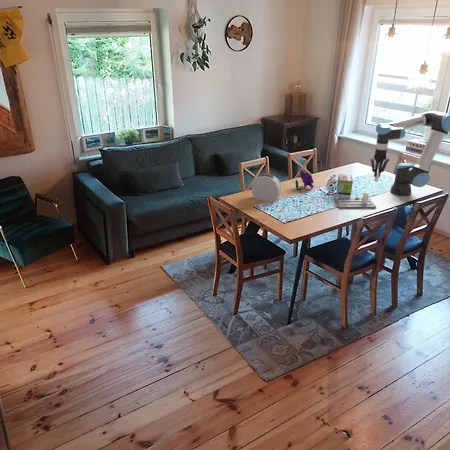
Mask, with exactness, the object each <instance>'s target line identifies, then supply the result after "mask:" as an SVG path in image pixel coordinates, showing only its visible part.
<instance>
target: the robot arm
mask: <svg viewBox="0 0 450 450" xmlns="http://www.w3.org/2000/svg"><path fill="white" fill-rule="evenodd" d="M417 127H418V128H419V127H420V128H424V127H429V128H430V132H431V133H430V135H429V137H428V140H427V142H426V144H425V146H424V147H423V150H422V152H421V155H420V156H419V158H418V160H417V162H416V164H414V163H409V162H404V163H403V162H402V163H400V162H399V163H398V164H397V166H396V170H395V175H394V176H395V177H394V181H393V184H392V185H391V187H390V190H389V191H390V193H391V194H392V195H393V194H394V195H396V196H403V197H405V196H410V195H411V194H412V187H416V188H423V187H425V186H426V185H427V184H428V183H429V181H430V178H431V175H430V174H429V173H430V166H431V164H432V162H433V161H434V160H433V159H434V158H435V156H436V153H437V151H438V150H439V147H440V145H441V143H442V142H443V139H444V137H445V136H448V134H449V133H450V113H448V112H447V113H446V112H443V111H440V110H439V111H438V110H430V111H429V110H428V111H426V112H422V113H419V114H417V115H415V116H411V117H408V118H403V119H399V120H395V121H392V122H388V123H387V122H386V123H384V122H379V123H378V124H377V125H376V127H375V132H376V133H377V137H376V143H375V144H376V145H375V151H374V155H373V157H370V158H369V160H370V164H371V172H373V177H374V182H376V183H377V182H378V181H379V178H380V177H381V174H382V173H384V171H385V169H386V167H387V165H388V163H389V161H390V158H388V157H387V152H388V145H389V141H390V140H400V139H404V138H405V136H406V130H409V129H414V128H417Z"/></svg>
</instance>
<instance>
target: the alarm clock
mask: <svg viewBox="0 0 450 450" xmlns="http://www.w3.org/2000/svg"><path fill="white" fill-rule="evenodd" d="M282 189H283V188H282V184H281V182H280V180H279V179H278V178H277V177H276V176H275V175H273V174H271V173H261V174H260V175H259V176H258V177H256V178H255V180H254V181H253V183H252V184H251V193H252V196H253V197H254V199H255V200H257V201H264V202H269V203H273V202H274V203H275V201H276V200H277V199H278V198H279V197H280V195H281V193H282Z"/></svg>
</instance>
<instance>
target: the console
mask: <svg viewBox="0 0 450 450" xmlns="http://www.w3.org/2000/svg"><path fill="white" fill-rule="evenodd" d="M362 199H363V196H362V198H360V197H359V196H355V198H350V199H340V198H334V203H335V204H336V206H337V205H338V206H337V207H338V209H340V210H341V209H343V210H346V209H347V210H349V209H351V210H353V209H357V210H358V209H359V210H360V209H363V210H365V209H367V210H368V209H370V210H371V209H377V206H376V205H375V203H374V202H373V201H372V199H371V198H368V202H367V203H363V202H362Z"/></svg>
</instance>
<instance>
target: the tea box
mask: <svg viewBox="0 0 450 450" xmlns="http://www.w3.org/2000/svg"><path fill="white" fill-rule="evenodd" d="M337 177H338V179H337V185H336V199H351V196H352V191H353V190H352V189H353V183H354V181H353V176H352V174H345V173H344V174H341V173H340V174H338V176H337Z"/></svg>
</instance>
